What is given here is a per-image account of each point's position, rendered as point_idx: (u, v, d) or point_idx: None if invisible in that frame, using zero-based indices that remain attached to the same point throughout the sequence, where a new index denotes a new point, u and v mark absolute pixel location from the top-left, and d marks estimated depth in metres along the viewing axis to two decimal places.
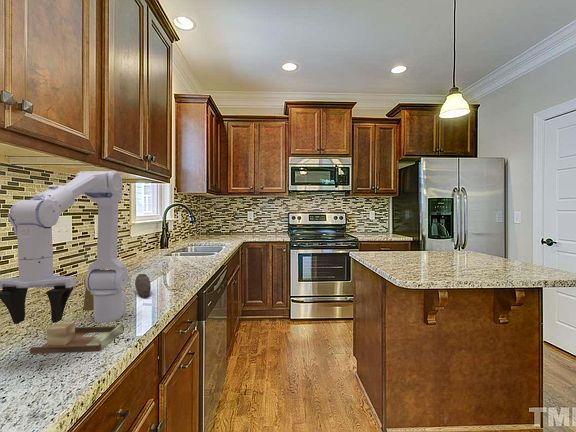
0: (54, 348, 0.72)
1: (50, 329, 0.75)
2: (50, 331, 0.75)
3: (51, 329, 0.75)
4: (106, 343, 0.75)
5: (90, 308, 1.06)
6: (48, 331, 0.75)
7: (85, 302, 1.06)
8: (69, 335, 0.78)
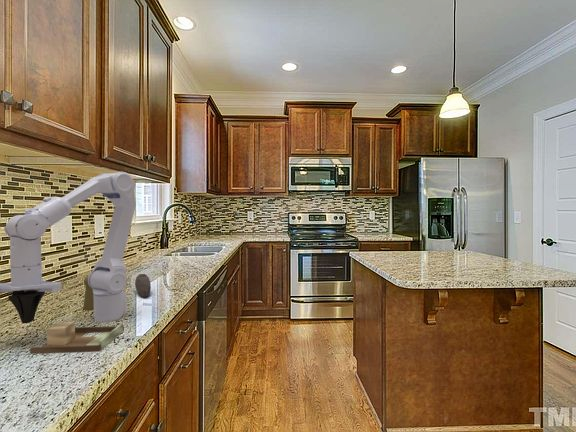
0: (54, 348, 0.72)
1: (50, 329, 0.75)
2: (50, 331, 0.75)
3: (51, 329, 0.75)
4: (106, 343, 0.75)
5: (90, 308, 1.06)
6: (48, 331, 0.75)
7: (85, 302, 1.06)
8: (69, 335, 0.78)
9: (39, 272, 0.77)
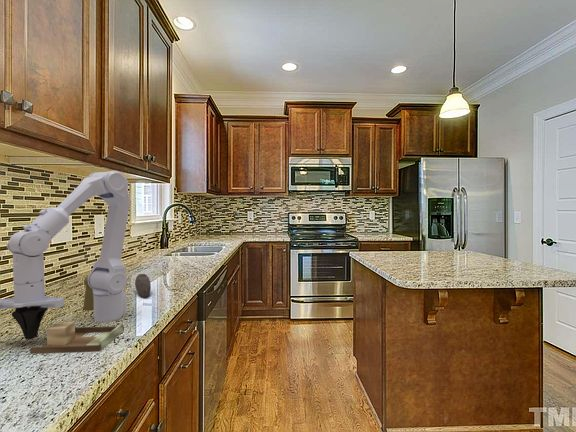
0: (54, 348, 0.72)
1: (50, 329, 0.75)
2: (50, 331, 0.75)
3: (51, 329, 0.75)
4: (106, 343, 0.75)
5: (90, 308, 1.06)
6: (48, 331, 0.75)
7: (85, 302, 1.06)
8: (69, 335, 0.78)
9: (42, 288, 0.77)
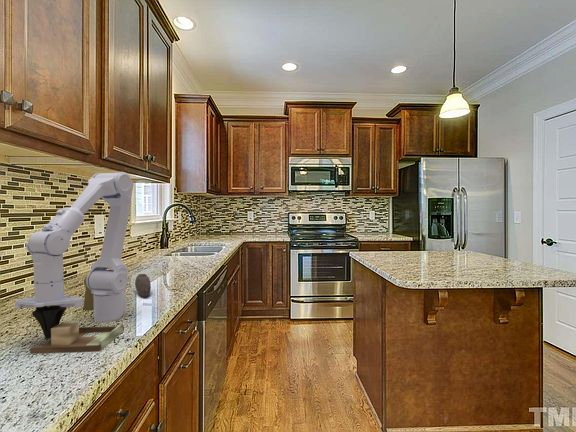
0: (54, 348, 0.72)
1: (54, 329, 0.75)
2: (54, 331, 0.75)
3: (55, 329, 0.75)
4: (106, 343, 0.75)
5: (90, 308, 1.06)
6: (52, 331, 0.75)
7: (85, 302, 1.06)
8: (73, 335, 0.78)
9: (62, 288, 0.77)
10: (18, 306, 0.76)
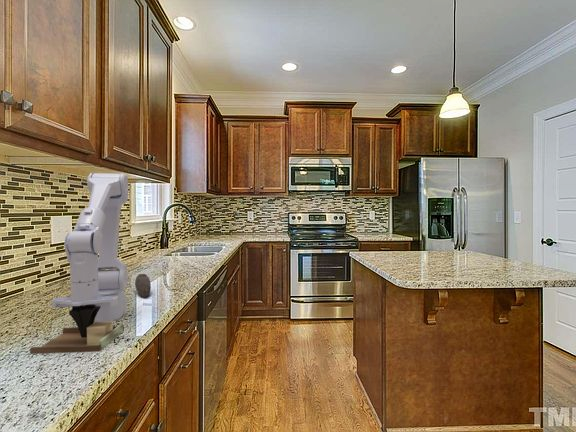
0: (54, 348, 0.72)
1: (90, 328, 0.76)
2: (90, 330, 0.76)
3: (91, 328, 0.76)
4: (106, 343, 0.75)
5: None
6: (88, 330, 0.76)
7: None
8: None
9: (97, 287, 0.78)
10: (54, 305, 0.76)
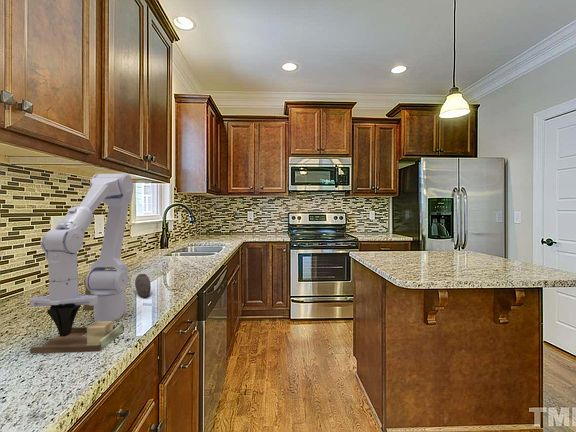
0: (54, 348, 0.72)
1: (90, 328, 0.76)
2: (90, 330, 0.76)
3: (91, 328, 0.76)
4: (106, 343, 0.75)
5: (90, 308, 1.06)
6: (88, 330, 0.76)
7: None
8: None
9: (76, 286, 0.78)
10: (33, 304, 0.76)
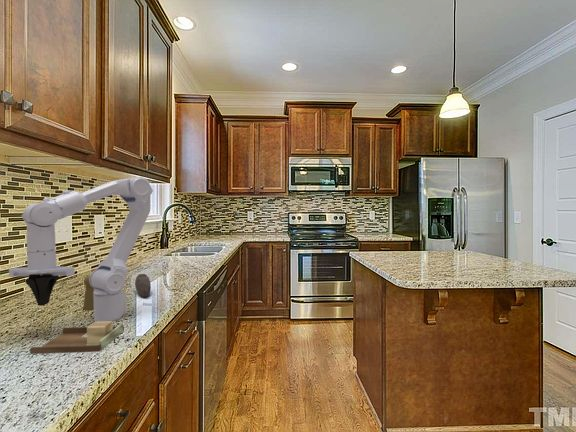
0: (54, 348, 0.72)
1: (90, 328, 0.76)
2: (90, 330, 0.76)
3: (91, 328, 0.76)
4: (106, 343, 0.75)
5: (90, 308, 1.06)
6: (88, 330, 0.76)
7: (85, 302, 1.06)
8: None
9: (54, 257, 0.81)
10: (12, 274, 0.80)
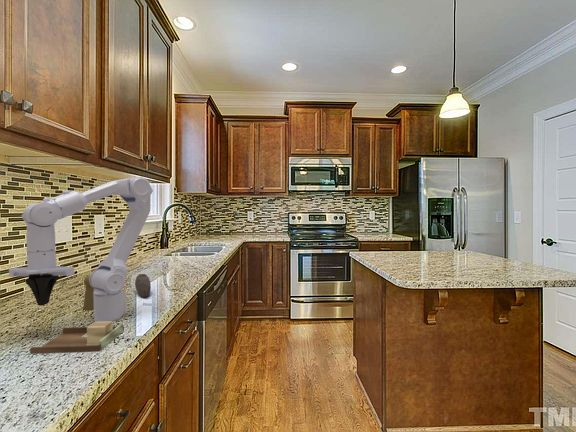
0: (54, 348, 0.72)
1: (90, 328, 0.76)
2: (90, 330, 0.76)
3: (91, 328, 0.76)
4: (106, 343, 0.75)
5: (90, 308, 1.06)
6: (88, 330, 0.76)
7: (85, 302, 1.06)
8: None
9: (53, 257, 0.81)
10: (12, 274, 0.80)
